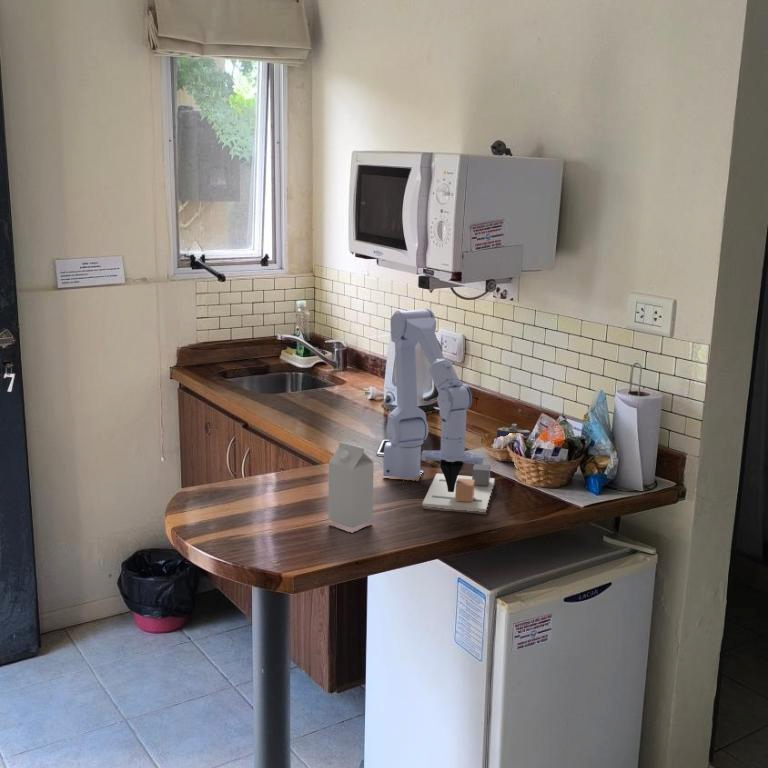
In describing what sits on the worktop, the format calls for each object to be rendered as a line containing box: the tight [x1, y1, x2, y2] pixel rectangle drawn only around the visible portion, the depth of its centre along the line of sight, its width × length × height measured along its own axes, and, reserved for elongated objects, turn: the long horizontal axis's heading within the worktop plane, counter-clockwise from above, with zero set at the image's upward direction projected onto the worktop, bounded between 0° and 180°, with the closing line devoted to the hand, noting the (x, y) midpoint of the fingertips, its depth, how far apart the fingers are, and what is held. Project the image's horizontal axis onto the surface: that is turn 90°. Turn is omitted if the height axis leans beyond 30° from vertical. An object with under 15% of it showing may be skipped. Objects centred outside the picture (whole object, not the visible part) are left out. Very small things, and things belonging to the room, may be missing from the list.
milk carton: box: [327, 441, 374, 528], centre depth 204 cm, size 7×7×19 cm
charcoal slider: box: [472, 464, 491, 486], centre depth 230 cm, size 4×4×4 cm
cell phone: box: [375, 438, 390, 455], centre depth 262 cm, size 8×15×1 cm, turn 173°
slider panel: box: [421, 473, 496, 512], centre depth 226 cm, size 15×22×2 cm
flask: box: [496, 423, 531, 438], centre depth 252 cm, size 9×3×11 cm, turn 78°
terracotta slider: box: [455, 478, 475, 502], centre depth 219 cm, size 4×4×4 cm
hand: (451, 490), depth 220 cm, fingers closed
